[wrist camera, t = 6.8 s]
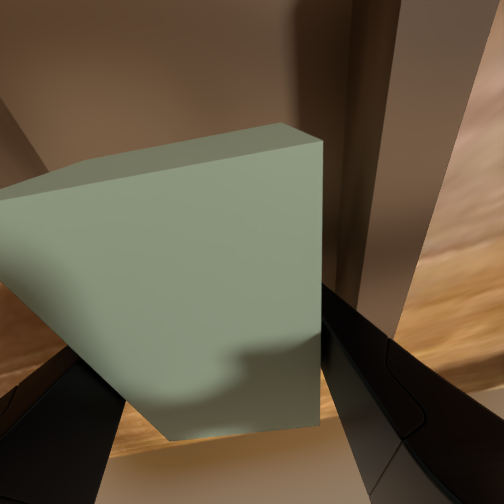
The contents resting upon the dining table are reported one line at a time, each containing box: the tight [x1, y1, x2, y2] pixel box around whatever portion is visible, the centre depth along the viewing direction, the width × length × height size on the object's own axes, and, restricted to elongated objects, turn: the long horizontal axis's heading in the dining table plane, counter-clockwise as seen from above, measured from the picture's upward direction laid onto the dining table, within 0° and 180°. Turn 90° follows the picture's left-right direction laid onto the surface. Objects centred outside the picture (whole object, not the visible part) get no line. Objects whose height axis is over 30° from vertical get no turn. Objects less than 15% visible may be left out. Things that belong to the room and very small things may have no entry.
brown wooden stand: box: [0, 0, 500, 340], centre depth 10 cm, size 20×18×4 cm
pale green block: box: [0, 122, 323, 441], centre depth 8 cm, size 10×6×4 cm, turn 9°
